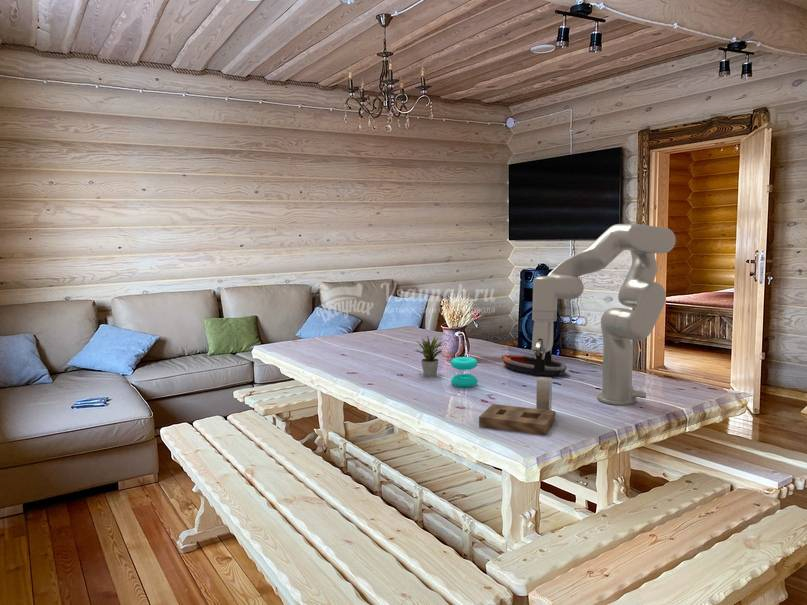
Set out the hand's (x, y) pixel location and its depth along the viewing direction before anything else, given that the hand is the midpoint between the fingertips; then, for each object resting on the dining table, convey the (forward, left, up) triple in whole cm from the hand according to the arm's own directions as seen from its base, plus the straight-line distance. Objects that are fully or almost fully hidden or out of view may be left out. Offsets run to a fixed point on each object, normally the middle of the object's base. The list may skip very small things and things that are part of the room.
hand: (542, 368), depth 192 cm
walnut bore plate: (+5, +14, -14) cm, 20 cm away
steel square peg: (0, 0, -14) cm, 14 cm away
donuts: (+35, -22, -15) cm, 44 cm away
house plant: (+52, -30, -15) cm, 62 cm away
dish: (+16, -53, -15) cm, 58 cm away
